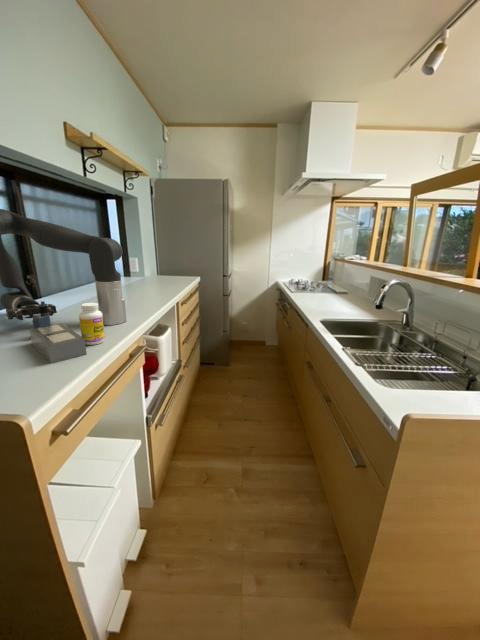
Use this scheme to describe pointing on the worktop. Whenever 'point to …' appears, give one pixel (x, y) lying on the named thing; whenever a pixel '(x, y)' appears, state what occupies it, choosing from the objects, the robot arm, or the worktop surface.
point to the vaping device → (42, 316)
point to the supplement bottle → (91, 324)
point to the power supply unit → (58, 342)
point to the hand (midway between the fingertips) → (37, 315)
